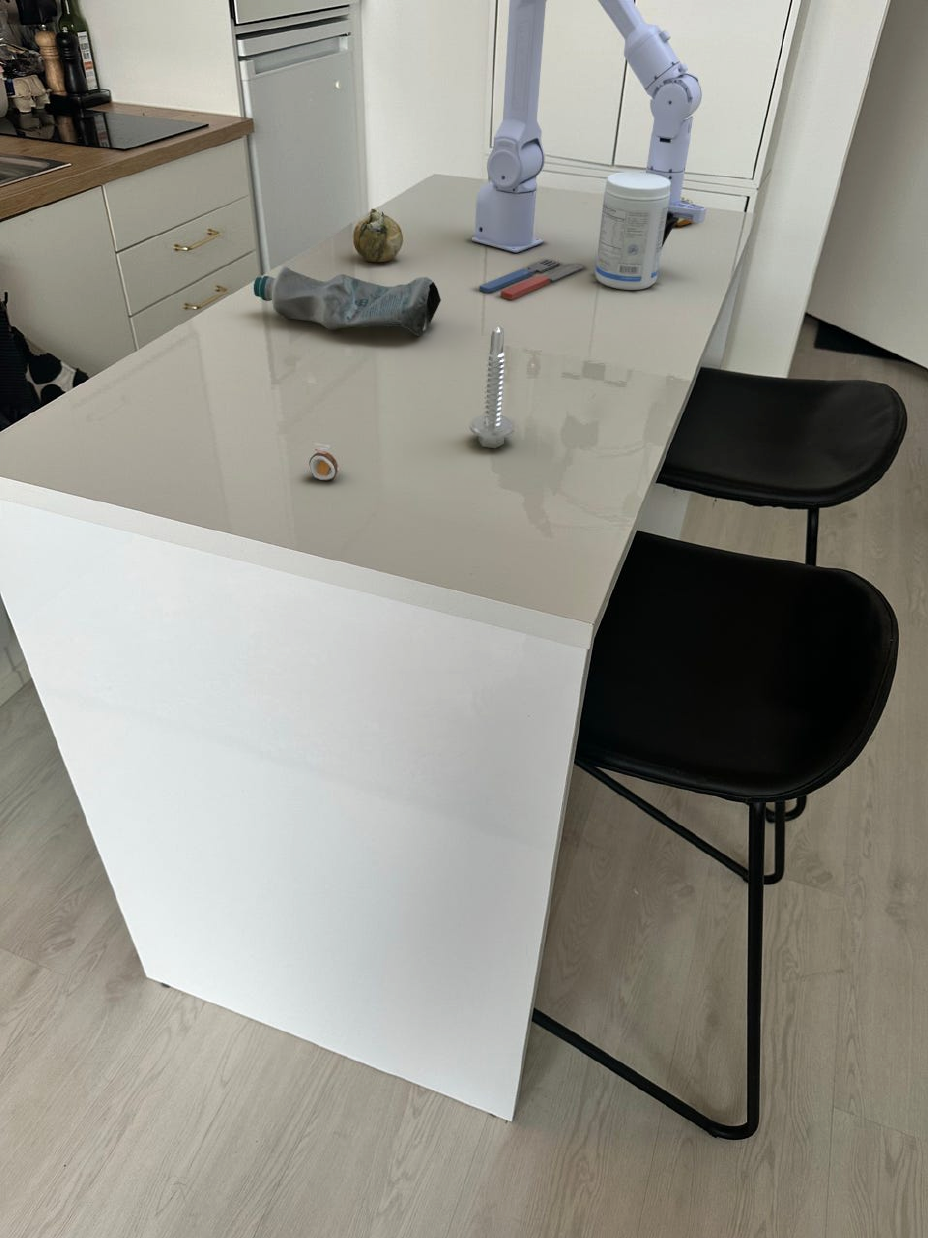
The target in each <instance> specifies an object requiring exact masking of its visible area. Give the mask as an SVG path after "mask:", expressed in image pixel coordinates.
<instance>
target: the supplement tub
mask: <svg viewBox="0 0 928 1238" xmlns="http://www.w3.org/2000/svg"><path fill="white" fill-rule="evenodd" d="M670 185H671V183H670V181H669V180H668V179H667V178H665V177H663V176H660V175H656V174H651V173H646V172H642V171H621V172H615V173H612V174H610V175H608V176H607V178H606V183H605V187H604V191H603V193H604V195H603V203H602V210H601V219H600V228H599V236H598V237H599V238H598V246H597V247H598V248H597V255H596V262H595V263H596V264H595V273H594V274H595V278H596V280H597V281H598V282H599V283H601V284H602V285H604V286H606V287H609V288H612V289H616V290H623V291H639V290H644V289H647V288H650V287H651V286H652V285H654V284H655V283H656V282H657V280H658V274H659V268H660V264H661V263H660V261H661V256H662V250H661V249H663V247H662V243H663V236H664V230H665V224H666V217H667V211H668V205H669V198H670Z"/></svg>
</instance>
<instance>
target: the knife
mask: <svg viewBox="0 0 928 1238" xmlns="http://www.w3.org/2000/svg"><path fill="white" fill-rule="evenodd" d="M583 269H584V267H583V266H582V264H578V263H577V264H576V263H575V264H569V265H567V266H565V267H563V268H560V269H558V270H556V271H553V272H551V273H549V274H547V275H541V274H538V275H536V276H533V277H531V278H529V279H526V280H524V281H521V282H519V283H517V284H513V285H511V286H510V287H507V288H505V289H502V290H501V291H500V298H503V299H506V300H509V301H512V300H516V299H517V298H519V297H523V296H524V295H527V294H529V293H531V292H533V291H536V290H538V289H540V288H543V287H545V286H547V285H549V284H550V283H554V282H558V281H560V280H561V279H565V278H566V277H568V276H571V275H574V274H576V273H578V272H580V271H583Z"/></svg>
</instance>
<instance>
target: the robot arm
mask: <svg viewBox="0 0 928 1238" xmlns="http://www.w3.org/2000/svg"><path fill="white" fill-rule="evenodd" d="M547 1H548V0H509V5H508V22H507V40H506V55H505V56H506V57H505V72H504V73H505V75H504V92H503V107H502V108H503V109H502V121H501V123H500V124H499V127H498V129H497V130H496V133H495V134H494V136H493V146H492V150H491V151H490V152H491V153H490V154H489V156H488V157H487V162H486V172H487V175H488V178H489V180H490V181H486V182H485V183H484V184H483V185H482V186H481V187H480V188H479V191H478V192H477V198H476V203H475V223H474V236H472V237H471V241H473V242H476V243H480V244H482V245H487V246H490V247H494V248H497V249H501V250H505V251H508V252H512V253H519V252H522V251H526V250H527V249H530V248H533V247H535V246H538V245H540V244H543V242H544V240H543V239H542V238H538V237H534V226H535V214H536V202H537V190H538V189H537V188H538V183H537V177H538V176H539V175H540V173H541V172H542V171H543V169H544V167H545V164H546V163H545V162H546V154H545V150H544V148H543V144H542V134H543V133H542V128H541V126H540V124H539V122H538V110H539V96H540V84H541V69H542V59H543V58H542V57H543V46H544V34H545V33H544V31H545V22H546V21H545V20H546V19H545V18H546V7H547V6H546V5H547ZM597 2H598V3H599V4H600V6H601V7H602V9H603V10H604V12H605V13H606V14H607V16H608V17H609V19H610V20H611V22H612V23H613V24H614V26H615V27H616V30H618V32H619V33H620V35H621V36H622V38H623V39H624V50H623V56H624V58H625V60H626V62H627V63H628V65H629V66H630V68H631V69H632V71H633V73H634V74H635V77H636V78H637V80H638V81H639V83H640V84H641V85H642V87H643V89H644V91H645V93H646V94H647V95H648V96H650V97H651V99H650V100H649V107H650V112H651V114H652V117H653V124H652V131H651V133H650V141H649V149H648V153H647V154H648V155H647V162H646V167H645V169H646V170H645V173H651V174H656V175H660V176H663V177H665V178H667V179H668V180H669V181H670V183H671V185H670V198H669V205H668V211H667V217H666V224H665V230H664V236H663V243H662V249H663V248H664V245H665V243H666V241H667V239H668V237H669V235H670V233H671V232H672V230H673V229H674V227H676V226H675V224H676V223H677V222H678V220H679V218H682V219H687V220H691V221H693V222H692V223H693V224H700V223H703V222H705V218H706V213H707V209H708V208H707V207H705V206H701V205H698V204H696V203H695V204H696V205H695V204H692V203H690V202H687V201H684V200H681V199H680V197H682V196H681V195H682V190H683V184H684V178H685V172H686V166H687V161H688V154H689V149H690V144H691V143H690V142H691V138H692V137H691V136H692V135H691V133H692V127H693V121H694V116H692V115H694V113H696V111H697V110H698V108H699V106H700V105H701V103H702V102H701V101H702V98H703V97H702V96H703V93H702V87H701V84H700V83H699V78H698V77H697V76H696V75H694V74H693V73H691V72H687V71H688V70H689V67H688V66H687V64H686V63H685V62H684V63H681V61H680V59H679V57H678V56H677V54H676V53H675V51H674V49H673V48H672V46H671V45H670V43H669V40H670V39H671V35H670V33H669V32H668V30H667V29H664V30H661V28H660V26H659V25H658V24H650V23H646V22H645V20H644V18H643V15H642V14H641V12H640V11H639V9H638V7H637V5H636V3H635V1H634V0H597ZM662 249H661V251H662Z"/></svg>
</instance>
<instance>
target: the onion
mask: <svg viewBox="0 0 928 1238" xmlns="http://www.w3.org/2000/svg"><path fill="white" fill-rule="evenodd" d="M352 234H353V235H352V242H353V247H354V249H355V250H356V252H357V254H358V255H359V256H360V257H361V258H362V259H363V260H365V261H369V262H371V263H386V262H389V261H391V260H393V259H394V258H395V257H396V256H397V255H398V254H399V253H400V251H401V249H402V246H403V243H404V236H403V235H404V234H403V232H402V229H401V227H400V225H399V224H398V223H397V222H396V221H395V220H394V219H393V218H391V216H389V215H386V214H385V213H384V211H381V212H379V211H377V209H376V208H371V209H370V212H369V216H367V217H365V218H363V219H362V220H361V221H358V223H357V224H356V225H355V227H354V229H353V233H352Z"/></svg>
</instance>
